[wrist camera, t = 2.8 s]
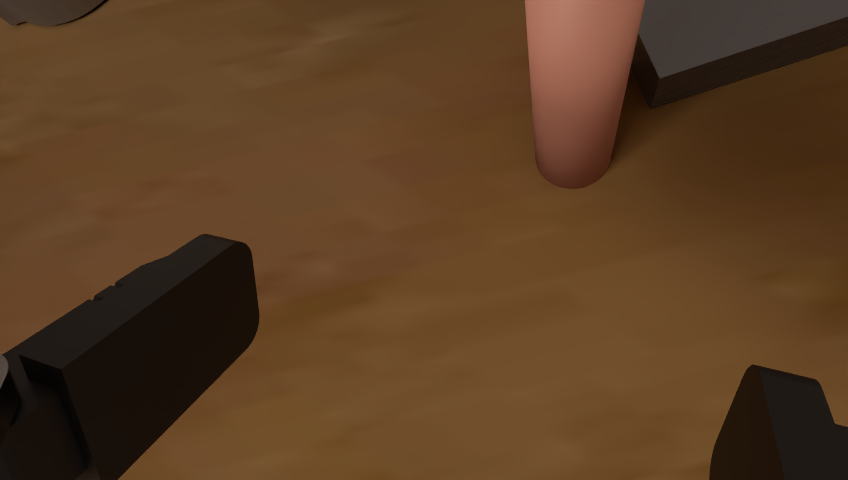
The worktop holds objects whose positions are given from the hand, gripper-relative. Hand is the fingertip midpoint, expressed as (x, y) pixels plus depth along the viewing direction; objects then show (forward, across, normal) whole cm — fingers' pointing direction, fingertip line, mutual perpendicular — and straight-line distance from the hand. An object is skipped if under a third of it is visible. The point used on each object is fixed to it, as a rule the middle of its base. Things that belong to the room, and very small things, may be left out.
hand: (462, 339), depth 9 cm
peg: (+19, 0, +3) cm, 19 cm away
